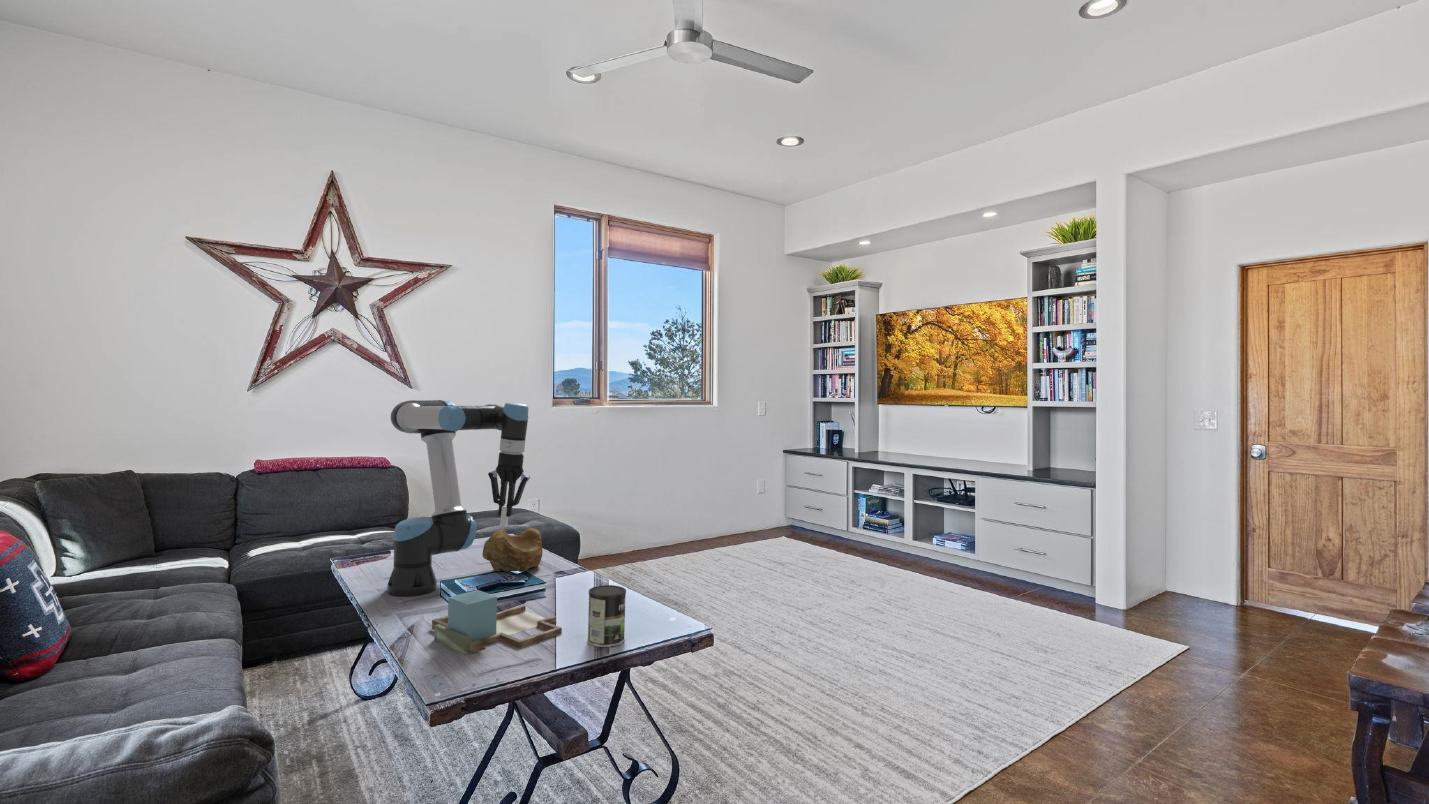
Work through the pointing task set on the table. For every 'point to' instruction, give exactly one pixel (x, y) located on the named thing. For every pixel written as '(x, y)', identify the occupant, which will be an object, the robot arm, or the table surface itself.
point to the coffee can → (606, 615)
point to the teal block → (473, 614)
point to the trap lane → (498, 631)
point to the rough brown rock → (513, 550)
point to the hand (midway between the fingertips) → (503, 526)
